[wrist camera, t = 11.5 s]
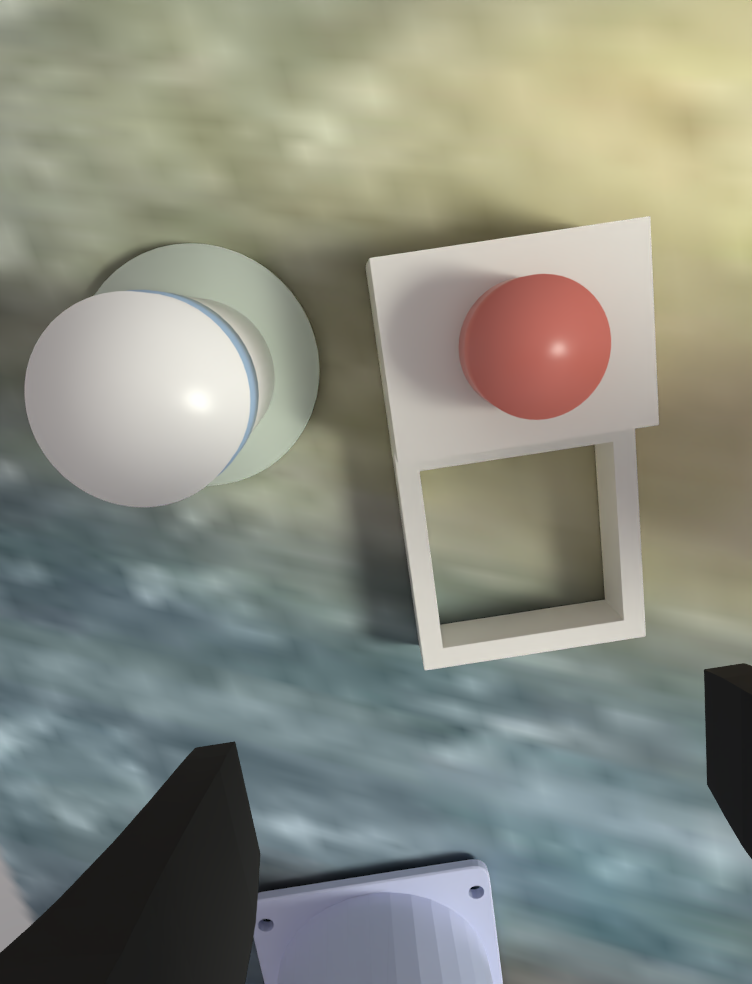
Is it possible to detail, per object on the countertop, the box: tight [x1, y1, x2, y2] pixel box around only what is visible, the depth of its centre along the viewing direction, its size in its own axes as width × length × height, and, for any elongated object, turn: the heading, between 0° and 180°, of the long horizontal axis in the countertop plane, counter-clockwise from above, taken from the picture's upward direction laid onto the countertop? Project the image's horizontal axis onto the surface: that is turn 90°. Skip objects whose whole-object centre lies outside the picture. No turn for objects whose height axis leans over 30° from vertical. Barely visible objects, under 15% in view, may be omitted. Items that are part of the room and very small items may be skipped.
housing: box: [365, 216, 659, 670], centre depth 19 cm, size 11×6×3 cm, turn 8°
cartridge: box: [24, 290, 275, 507], centre depth 16 cm, size 4×4×6 cm
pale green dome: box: [94, 243, 320, 486], centre depth 19 cm, size 6×6×1 cm
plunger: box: [459, 274, 611, 420], centre depth 17 cm, size 3×3×4 cm
